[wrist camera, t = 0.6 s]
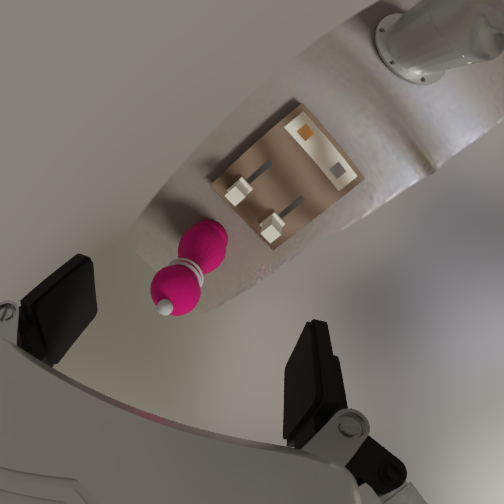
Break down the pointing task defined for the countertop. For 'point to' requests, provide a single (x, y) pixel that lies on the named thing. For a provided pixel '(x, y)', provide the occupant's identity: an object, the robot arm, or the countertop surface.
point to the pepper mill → (189, 268)
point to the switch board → (290, 174)
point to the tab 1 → (238, 191)
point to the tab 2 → (272, 227)
